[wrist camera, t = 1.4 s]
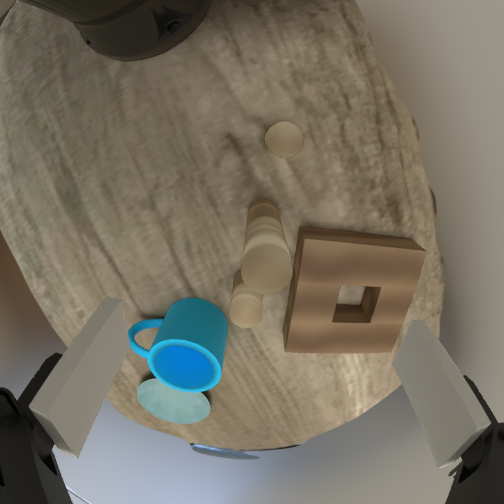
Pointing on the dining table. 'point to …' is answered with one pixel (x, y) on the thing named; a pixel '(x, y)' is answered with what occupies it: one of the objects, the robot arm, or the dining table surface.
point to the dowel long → (265, 250)
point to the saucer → (172, 402)
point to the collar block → (349, 273)
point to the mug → (186, 345)
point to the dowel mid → (245, 304)
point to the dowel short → (284, 139)
